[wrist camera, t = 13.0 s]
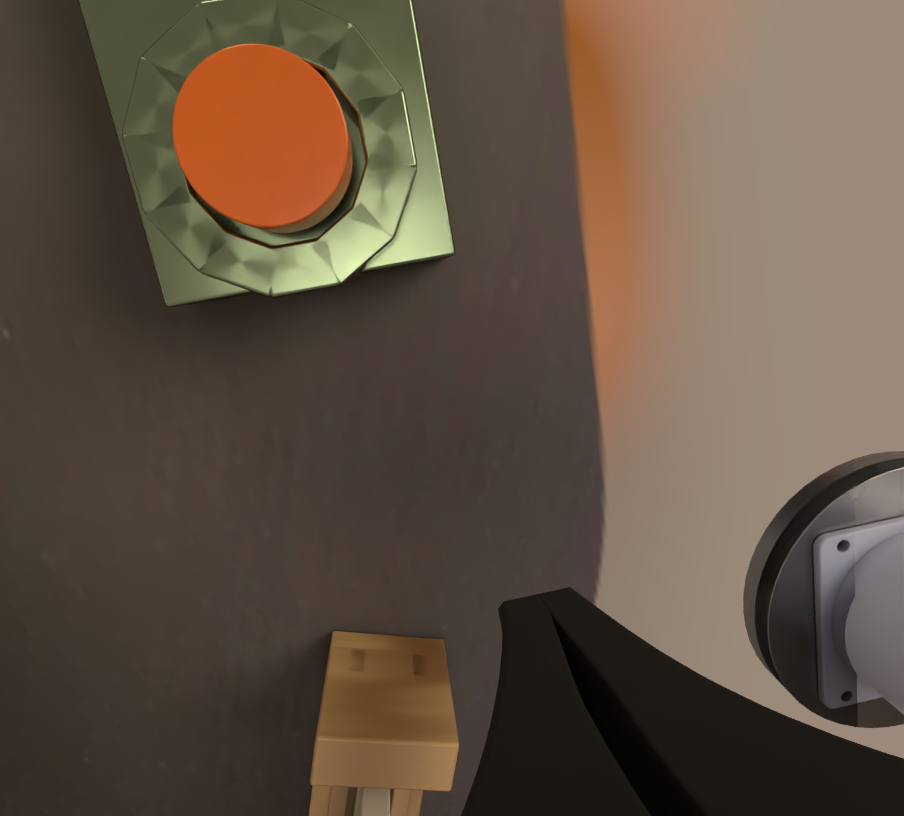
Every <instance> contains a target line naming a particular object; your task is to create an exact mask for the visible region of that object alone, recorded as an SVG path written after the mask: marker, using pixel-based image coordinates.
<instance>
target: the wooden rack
mask: <svg viewBox="0 0 904 816" xmlns="http://www.w3.org/2000/svg"><path fill="white" fill-rule="evenodd" d="M458 749H459V741H458V734H457V727H456V721H455V714H454V707H453V701H452V694H451V687H450V680H449V674H448V667H447V660H446V651H445V645H444V640H443V639H431V638H418V637H405V636H393V635H380V634H367V633H354V632H341V631H333V632H332V638H331V644H330V650H329V656H328V663H327V669H326V675H325V681H324V687H323V693H322V700H321V706H320V712H319V718H318V724H317V731H316V737H315V744H314V752H313V760H312V768H311V776H310V783H311V785H312V793H311V800H310V808H309V816H353V810H354V803H355V796H356V789H357V787H359V788H383V789H390V816H419V812H420V807H421V801H422V795H423V790H429V791H450V790H451V788H452V782H453V777H454V771H455V766H456V760H457V755H458Z"/></svg>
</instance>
